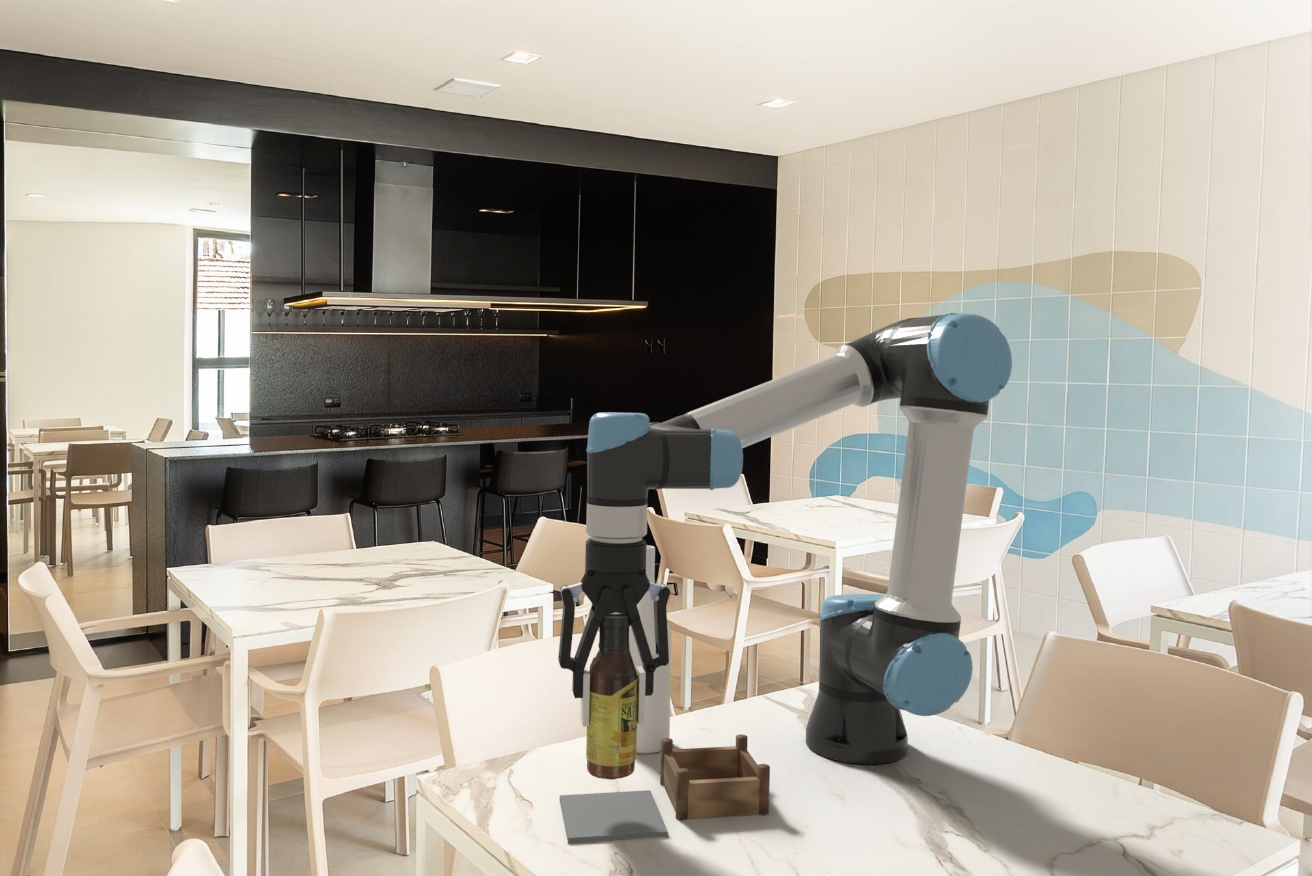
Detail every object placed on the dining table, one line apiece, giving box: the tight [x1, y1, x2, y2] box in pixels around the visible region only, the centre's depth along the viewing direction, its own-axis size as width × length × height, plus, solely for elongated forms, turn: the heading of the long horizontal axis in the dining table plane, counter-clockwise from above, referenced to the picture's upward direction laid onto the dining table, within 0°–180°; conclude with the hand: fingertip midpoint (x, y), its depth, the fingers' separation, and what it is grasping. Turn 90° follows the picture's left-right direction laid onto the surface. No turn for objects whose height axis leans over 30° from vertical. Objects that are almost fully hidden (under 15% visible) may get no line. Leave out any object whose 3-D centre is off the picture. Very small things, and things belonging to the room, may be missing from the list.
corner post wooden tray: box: [659, 734, 771, 821], centre depth 129 cm, size 12×12×6 cm
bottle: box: [629, 545, 672, 754], centre depth 146 cm, size 8×8×30 cm
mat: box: [559, 789, 669, 844], centre depth 122 cm, size 12×12×1 cm
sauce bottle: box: [585, 612, 638, 781], centre depth 121 cm, size 7×6×20 cm
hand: (612, 721), depth 122 cm, fingers closed on sauce bottle, 6 cm apart
